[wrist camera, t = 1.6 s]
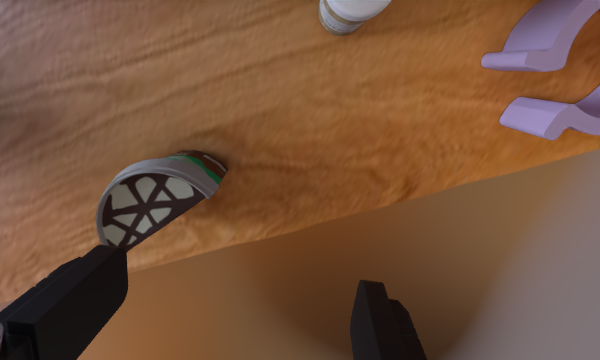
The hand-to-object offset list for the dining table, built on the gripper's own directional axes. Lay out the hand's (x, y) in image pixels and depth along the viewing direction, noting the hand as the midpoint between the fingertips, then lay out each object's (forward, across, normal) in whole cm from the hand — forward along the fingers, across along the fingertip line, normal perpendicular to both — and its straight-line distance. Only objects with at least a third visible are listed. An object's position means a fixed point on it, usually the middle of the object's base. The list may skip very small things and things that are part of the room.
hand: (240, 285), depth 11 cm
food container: (+26, +12, +5) cm, 29 cm away
